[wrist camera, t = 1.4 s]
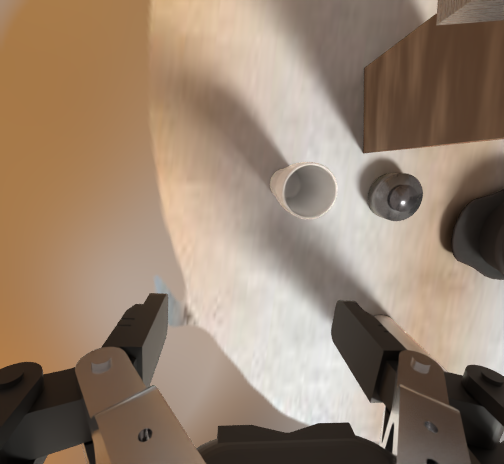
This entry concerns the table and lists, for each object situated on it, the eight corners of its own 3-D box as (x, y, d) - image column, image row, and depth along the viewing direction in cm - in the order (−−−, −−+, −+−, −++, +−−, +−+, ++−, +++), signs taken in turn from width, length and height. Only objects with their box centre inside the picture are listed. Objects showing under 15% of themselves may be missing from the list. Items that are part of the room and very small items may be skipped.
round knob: (419, 189, 46) (437, 192, 42) (390, 226, 48) (405, 231, 44) (387, 163, 45) (403, 163, 41) (358, 201, 46) (371, 205, 42)
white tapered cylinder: (306, 200, 45) (340, 215, 31) (268, 206, 45) (285, 224, 31) (301, 160, 44) (336, 157, 29) (262, 167, 43) (277, 166, 29)
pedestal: (442, 61, 41) (1065, -253, 10) (436, 146, 45) (896, 97, 14) (364, 68, 41) (779, -246, 10) (363, 153, 44) (673, 119, 13)
